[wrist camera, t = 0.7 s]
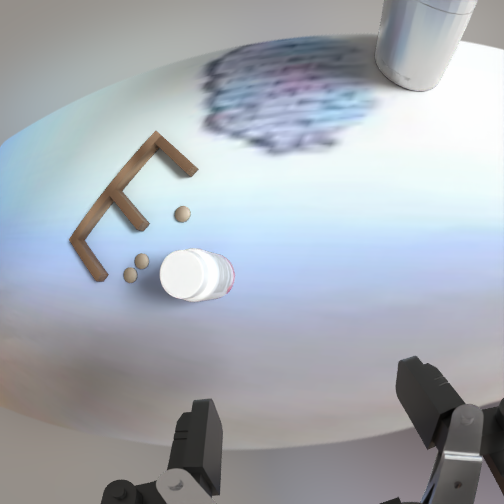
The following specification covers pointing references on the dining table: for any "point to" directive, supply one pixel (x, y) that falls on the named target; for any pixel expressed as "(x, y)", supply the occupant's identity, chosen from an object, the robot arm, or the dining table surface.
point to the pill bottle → (196, 275)
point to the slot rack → (127, 206)
